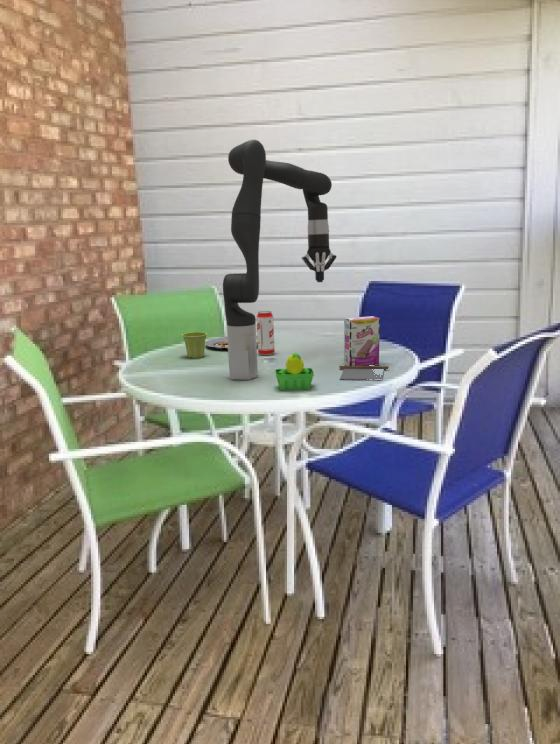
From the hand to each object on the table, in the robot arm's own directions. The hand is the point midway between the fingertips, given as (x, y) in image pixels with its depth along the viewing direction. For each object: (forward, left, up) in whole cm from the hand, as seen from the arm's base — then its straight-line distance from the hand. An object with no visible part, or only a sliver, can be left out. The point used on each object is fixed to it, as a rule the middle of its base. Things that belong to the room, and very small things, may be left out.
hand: (319, 282), depth 235 cm
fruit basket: (-49, +2, -27) cm, 56 cm away
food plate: (+16, +37, -27) cm, 48 cm away
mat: (-32, -17, -27) cm, 45 cm away
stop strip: (-25, -17, -27) cm, 40 cm away
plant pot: (-6, +47, -27) cm, 54 cm away
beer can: (-1, +21, -27) cm, 34 cm away
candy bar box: (-19, -16, -27) cm, 36 cm away
